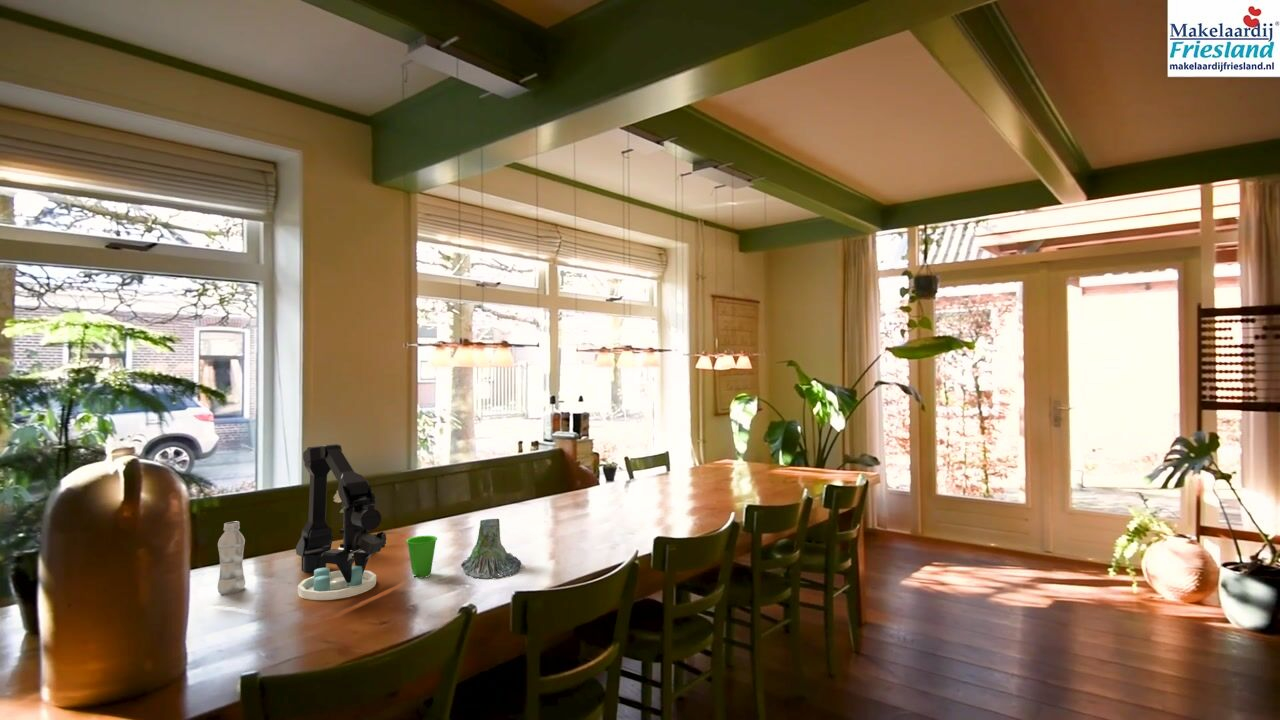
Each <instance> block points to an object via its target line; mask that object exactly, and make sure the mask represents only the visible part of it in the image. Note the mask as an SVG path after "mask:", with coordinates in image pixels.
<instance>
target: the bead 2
mask: <svg viewBox="0 0 1280 720" xmlns="http://www.w3.org/2000/svg"><path fill="white" fill-rule="evenodd" d="M361 584H362V566H355V565H352V574H351V582H350V583H347V586H358V585H361Z"/></svg>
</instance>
